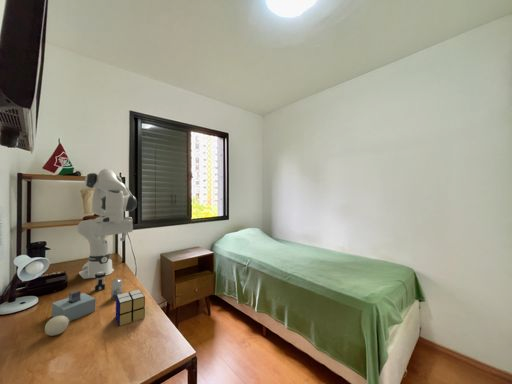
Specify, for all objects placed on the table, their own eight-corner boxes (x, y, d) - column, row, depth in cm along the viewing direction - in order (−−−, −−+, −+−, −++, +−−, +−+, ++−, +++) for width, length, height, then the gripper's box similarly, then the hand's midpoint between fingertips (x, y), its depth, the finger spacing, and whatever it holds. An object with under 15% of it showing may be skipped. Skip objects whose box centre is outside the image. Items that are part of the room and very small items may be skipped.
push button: (91, 292, 122) (91, 275, 122) (91, 289, 126) (92, 272, 126) (105, 289, 126) (105, 272, 126) (105, 286, 130) (105, 270, 130)
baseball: (73, 329, 88) (73, 313, 88) (51, 341, 81) (51, 323, 81) (62, 326, 90) (63, 310, 90) (40, 337, 83) (41, 319, 83)
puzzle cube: (115, 316, 98) (116, 294, 98) (139, 309, 104) (140, 288, 105) (118, 327, 90) (119, 303, 90) (144, 318, 97) (145, 296, 97)
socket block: (51, 316, 98) (52, 302, 98) (83, 304, 108) (83, 292, 108) (63, 323, 92) (63, 309, 92) (95, 310, 102) (95, 298, 103)
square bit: (68, 312, 100) (69, 292, 100) (76, 308, 102) (77, 290, 103) (71, 313, 98) (72, 294, 98) (79, 310, 101) (80, 291, 101)
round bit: (109, 297, 116) (110, 280, 116) (119, 294, 120) (120, 278, 120) (113, 300, 113) (114, 283, 113) (123, 296, 117) (123, 280, 117)
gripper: (129, 216, 132) (128, 238, 132) (91, 219, 114) (90, 245, 114) (135, 216, 129) (135, 239, 129) (97, 219, 111) (96, 246, 111)
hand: (113, 242), depth 121 cm, fingers open, 8 cm apart
